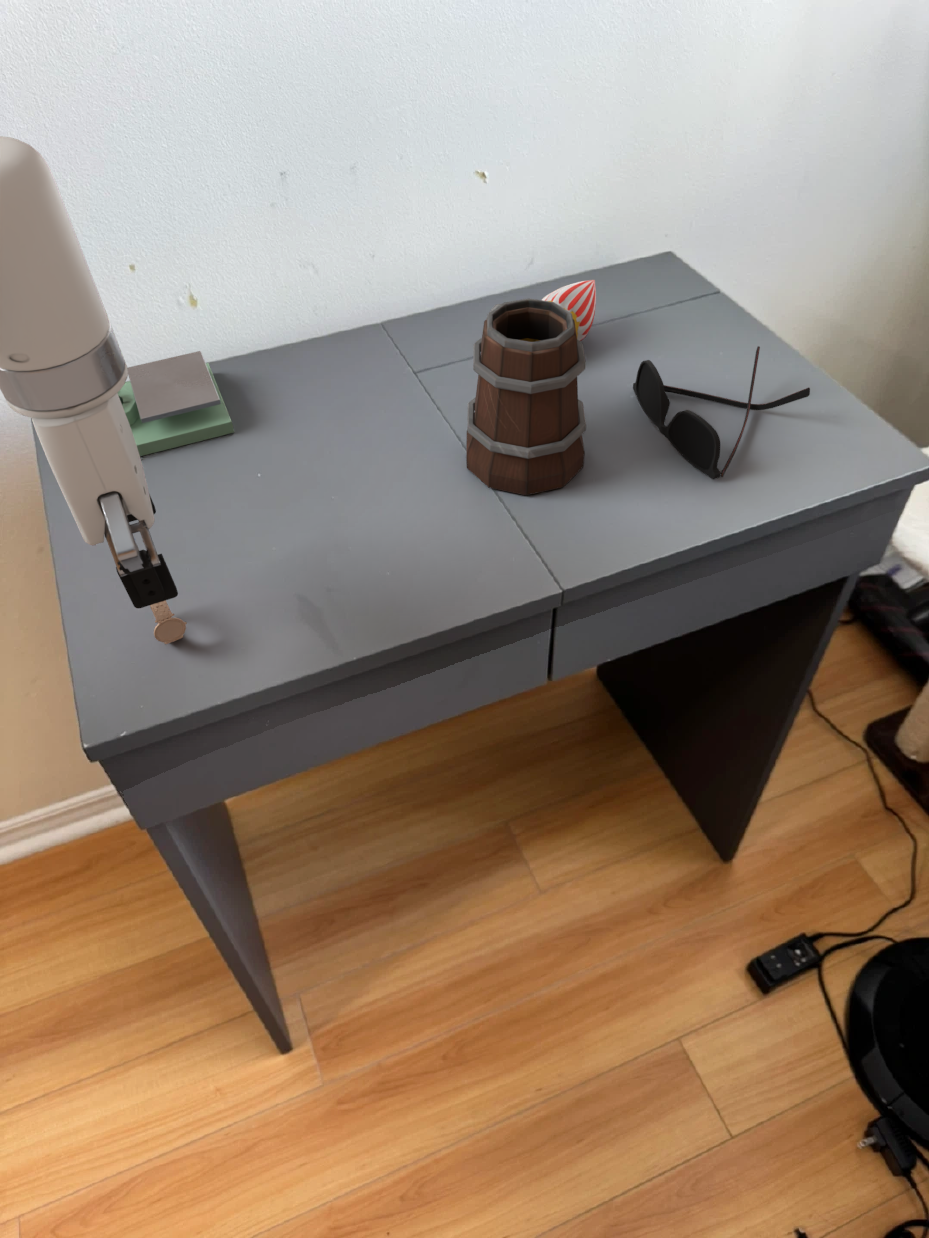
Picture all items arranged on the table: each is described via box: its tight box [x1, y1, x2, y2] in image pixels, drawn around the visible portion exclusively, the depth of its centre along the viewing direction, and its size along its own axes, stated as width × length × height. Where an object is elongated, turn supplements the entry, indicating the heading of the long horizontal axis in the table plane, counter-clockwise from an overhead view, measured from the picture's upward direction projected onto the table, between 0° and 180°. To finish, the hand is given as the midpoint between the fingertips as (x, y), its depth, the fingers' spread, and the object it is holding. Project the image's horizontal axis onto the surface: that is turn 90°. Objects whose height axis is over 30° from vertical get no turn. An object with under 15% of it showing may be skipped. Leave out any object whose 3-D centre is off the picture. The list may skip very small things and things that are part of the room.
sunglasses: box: [632, 345, 811, 480], centre depth 89 cm, size 17×14×5 cm
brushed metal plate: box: [127, 350, 221, 423], centre depth 91 cm, size 8×10×1 cm
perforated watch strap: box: [149, 600, 188, 645], centre depth 71 cm, size 3×5×5 cm, turn 30°
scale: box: [118, 362, 235, 457], centre depth 92 cm, size 14×12×3 cm
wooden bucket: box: [465, 297, 587, 496], centre depth 83 cm, size 16×12×15 cm
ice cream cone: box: [541, 279, 597, 342], centre depth 98 cm, size 6×6×20 cm
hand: (146, 557), depth 67 cm, fingers open, 9 cm apart
